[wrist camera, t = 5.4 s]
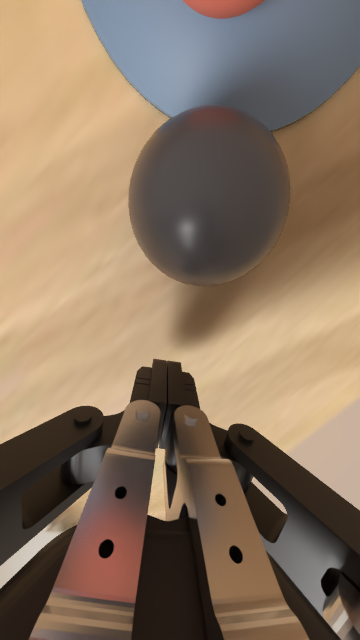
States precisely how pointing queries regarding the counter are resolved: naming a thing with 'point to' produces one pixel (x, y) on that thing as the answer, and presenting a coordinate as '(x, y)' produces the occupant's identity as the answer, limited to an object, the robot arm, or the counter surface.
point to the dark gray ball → (209, 195)
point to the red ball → (222, 7)
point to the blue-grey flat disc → (232, 54)
